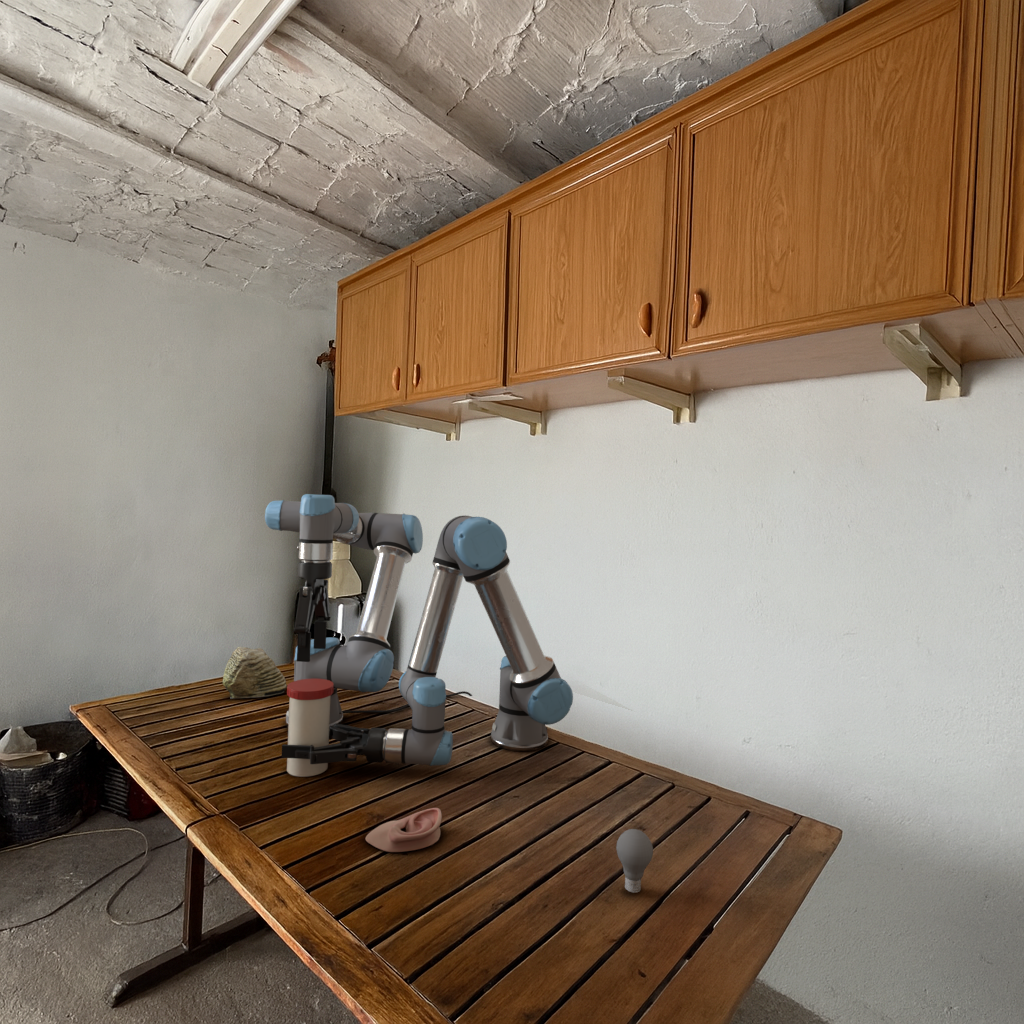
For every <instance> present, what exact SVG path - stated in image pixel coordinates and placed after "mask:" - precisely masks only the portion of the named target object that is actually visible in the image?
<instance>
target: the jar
mask: <svg viewBox="0 0 1024 1024" xmlns="http://www.w3.org/2000/svg"><path fill="white" fill-rule="evenodd" d="M330 700H331V695H330V696H328V697H325V698H321V699H315V700H298V699H293V698H290V697H289V696H288V710H289V722H288V727H287V745H306V746H311V745H313V746H314V748H315V747H321V746H326V745H330V740H329V726H330ZM328 768H329V763H322V764H310V759H298V758H286V772H287V773H288V774H289V775H290V776H293V777H301V778H302V777H303V778H306V777H307V778H308V777H314V776H317V775H320V774H322V773H324V772H325V771H327V770H328Z"/></svg>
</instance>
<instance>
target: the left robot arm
mask: <svg viewBox="0 0 1024 1024" xmlns="http://www.w3.org/2000/svg"><path fill="white" fill-rule="evenodd" d="M264 511H265V513H264V521H265V524H266V526H267V527H268V528H269V529H270V530H272V531H273V530H274V531H280V532H282V531H285V532H295V533H299V539H298V540H299V541H298V545H297V546H296V550H298V559H299V560H300V561H298V563H297V577H298V578H299V579H302V580H303V579H304V580H305V582H304V586H303V585H302V586H300V587H299V595H298V596H299V597H298V603H297V609H296V615H295V616H296V617H295V622H294V628H293V633H296V634H297V645H296V647H295V652H294V653H295V654H294V659H293V661H294V672H293V682H294V681H297V680H302V679H325V680H329V681H331V682H333V685H334V692H333V694H332V695H331V700H330V726H334V724H335V723H337V724H342V723H343V722H344V714H387V713H388V714H389V713H394V712H395V713H396V712H399V711H402V710H405V709H406V708H408V707H410V706H409V704H408V703H406V704H404V705H403V706H401V707H399V708H395V709H394V708H393V709H383V710H382V709H381V710H380V709H377V710H376V709H375V710H373V709H371V710H369V709H367V710H366V709H365V710H364V709H363V710H360V709H359V710H343V709H342V706H341V702H340V699H339V695H338V689H339V690H347V691H354V692H355V691H357V692H360V693H377V692H380V691H381V690H382V689H383V688H385V686H386V685H387V684H388V683H389V681H390V678H391V677H392V676H391V675H392V673H393V671H394V666H395V665H394V661H395V656H394V653H393V651H392V650H391V644H390V643H389V642H388V640H387V638H388V634H389V630H390V627H391V623H392V622H391V621H392V619H393V614H394V611H395V606H396V603H397V598H398V594H399V590H400V586H401V582H402V578H403V574H404V572H405V571H404V570H405V566H406V565H407V564H408V563H410V562H411V561H412V559H413V556H414V555H413V554H415V555H416V554H419V553H421V551H422V549H423V542H424V533H423V527H422V524H421V521H420V519H419V518H418V517H417V515H414V514H408V513H407V514H406V513H387V512H358V510H357V508H356V507H355V506H354V505H352V504H350V503H346V502H335V497H334V495H331V494H316V493H315V494H314V493H313V494H312V493H305V494H303V495H302V496H301V498H300V501H299V500H297V501H296V500H285V499H282V500H272V501H270V502H269V503H268V504H267V506H266V508H265V510H264ZM334 540H336V541H337V542H339V543H340V544H344V545H348V546H352V547H356V548H358V549H363V550H368V551H373V554H374V555H375V557H376V560H375V563H374V568H373V570H372V574H371V577H370V581H369V585H368V589H367V592H366V596H365V599H364V602H363V606H362V610H361V613H360V617H359V621H358V625H357V629H356V632H355V633H353V634H352V635H350V636H349V637H348V641H347V643H346V645H345V644H340V643H341V641H340V639H339V638H338V637H334V636H333V637H327V626H328V625H327V623H328V622H330V621H331V612H330V611H331V610H330V600H329V599H330V598H329V580H328V579H331V578H332V575H333V563H332V560H333V559H334V558H333V556H334V555H333V554H334ZM314 615H315V621H314V627H313V630H314V631H313V639H312V632H311V631H310V630H311V626H312V622H313V618H314ZM463 694H464V695H467V696H469V697H473V694H472V693H470V692H469V691H458V692H455V693H451V694H446V698H450V697H455V696H458V695H463ZM288 722H289V709H288V710H287V711H286V713H285V726H286V728H288Z"/></svg>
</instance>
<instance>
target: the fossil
mask: <svg viewBox="0 0 1024 1024" xmlns="http://www.w3.org/2000/svg"><path fill="white" fill-rule="evenodd" d="M222 676H223V677H222V685H223V687H224V688H225V690H226V691H228V693H229V698H230V699H250V698H264V697H271V696H275V695H281V694H284V693H285V691H287V686H288V684H287V680H286V678H285V676H284V674H283V673H282V672H281V669H279V668H278V667H277V665H276V663H275V662H274V660H273V659H272V658H271V657H270V656H269V655H268V654H267V653H266V652H265V650H264V649H263V648H260V647H258V648H251V647H247V646H246V647H245V646H238V647H237V648H236V649H235V650H233V651H232V653H231V656H230V657H229V659H228V660H227V663H226V666H225V668H224V671H223V675H222Z"/></svg>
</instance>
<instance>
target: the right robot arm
mask: <svg viewBox="0 0 1024 1024" xmlns="http://www.w3.org/2000/svg"><path fill="white" fill-rule="evenodd" d="M436 544H437V545H436V548H435V551H434V554H433V558H432V565H433V567H434V571H433V574H432V577H431V581H430V585H429V589H428V591H427V595H426V599H425V603H424V607H423V610H422V614H421V616H420V620H419V624H418V628H417V632H416V635H415V638H414V642H413V646H412V650H411V653H410V657H409V660H408V664H407V667H406V670H405V671H404V672H403V673H402V675H400V678H399V680H398V688H399V693H400V694H401V696H402V698H403V699H404V700H405V701H406V702H407V703H406V704H409V706H408V707H409V708H410V709H411V729H409V728H393V727H392V728H388V730H387V729H386V728H384V727H371V728H367V727H362V728H361V727H358V726H352V725H347V724H342V723H341V724H337V723H335V724H334V726H329V741H331V740H335V741H338V742H339V743H338V742H337V743H332V744H329V745H326V746H321V747H315V748H314V746H313V745H311V746H306V745H288V744H285V743H284V744H282V745H281V759H287V758H298V759H310V764H322V763H328V764H331V763H341V762H351V763H352V762H353V763H354V762H357V760H358V759H357V758H358V756H363V755H364V756H365V760H366V761H367V763H378V764H380V763H383V762H385V763H387V764H395V766H399V765H400V764H403V765H422V766H430V767H432V766H446V765H449V764H450V762H451V761H452V756H453V747H454V734H453V733H452V731H449V730H446V729H445V720H446V719H445V717H446V700H447V697H446V695H447V692H446V691H447V689H446V682H445V681H444V680H443V679H442V678H439V677H437V674H438V669H439V667H440V662H441V658H442V656H443V651H444V648H445V644H446V641H447V637H448V634H449V630H450V626H451V623H452V621H453V616H454V614H455V613H454V612H455V609H456V606H457V601H458V598H459V594H460V590H461V587H462V584H463V580H464V581H465V582H466V583H469V584H472V585H474V587H475V590H476V592H477V594H478V596H479V599H480V601H481V603H482V606H483V607H484V610H485V612H486V614H487V616H488V618H489V621H490V623H491V625H492V627H493V630H494V632H495V634H496V636H497V638H498V641H499V643H500V645H501V647H502V650H503V653H504V654H505V655H504V656H503V657H502V658H501V660H500V661H501V662H500V667H499V670H500V671H499V672H500V674H499V696H498V697H499V698H498V712H497V715H496V718H495V720H494V722H493V723H492V726H491V728H492V729H491V731H490V741H491V743H492V744H493V745H495V746H496V747H499V748H501V749H503V750H507V751H512V752H513V751H514V752H530V751H531V752H532V751H537V750H541V749H543V748H544V747H546V746H547V744H548V741H549V735H548V727H547V726H548V725H549V726H550V725H555V724H556V723H559V722H560V721H562V720H563V719H564V718H565V717H566V716H567V715H568V714H569V712H570V711H571V708H572V706H573V702H574V693H573V690H572V687H571V686H570V685H569V683H568V681H566V680H565V679H563V678H562V677H561V675H560V672H559V670H558V668H557V666H556V664H555V660H554V659H553V657H551V656H549V655H545V654H544V650H543V649H542V647H541V645H540V642H539V640H538V638H537V636H536V633H535V631H534V629H533V626H532V624H531V621H530V619H529V617H528V615H527V613H526V610H525V608H524V605H523V603H522V601H521V599H520V596H519V594H518V591H517V590H516V587H515V585H514V582H513V580H512V578H511V576H510V573H509V571H508V568H509V566H510V564H511V560H510V558H509V555H508V553H507V549H508V540H507V537H506V535H505V532H504V531H503V529H502V528H501V526H499V524H497V523H496V522H494V521H492V520H491V519H489V518H486V517H484V516H470V515H458V516H455V517H453V518H452V519H450V520H449V521H447V523H445V525H444V526H443V528H442V530H441V532H440V534H439V537H438V541H437V543H436Z"/></svg>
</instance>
